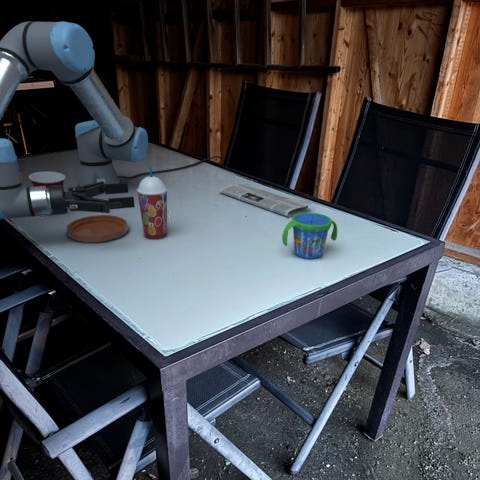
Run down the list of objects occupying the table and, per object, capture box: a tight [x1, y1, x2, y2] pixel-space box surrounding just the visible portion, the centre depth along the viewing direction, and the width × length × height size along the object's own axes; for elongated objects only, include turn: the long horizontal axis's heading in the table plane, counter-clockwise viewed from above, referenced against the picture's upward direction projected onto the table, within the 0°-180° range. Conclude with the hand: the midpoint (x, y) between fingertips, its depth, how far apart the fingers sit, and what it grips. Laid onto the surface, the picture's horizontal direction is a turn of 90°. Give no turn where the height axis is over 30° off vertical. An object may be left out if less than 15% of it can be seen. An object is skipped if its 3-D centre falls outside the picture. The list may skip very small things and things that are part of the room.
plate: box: [66, 214, 129, 243], centre depth 141 cm, size 17×17×2 cm
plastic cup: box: [28, 171, 66, 216], centre depth 152 cm, size 11×11×12 cm
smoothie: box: [136, 165, 168, 240], centre depth 135 cm, size 8×8×20 cm
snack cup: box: [281, 212, 338, 260], centre depth 128 cm, size 16×10×10 cm
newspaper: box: [219, 183, 313, 218], centre depth 168 cm, size 35×12×4 cm, turn 43°
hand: (131, 194), depth 132 cm, fingers open, 13 cm apart
